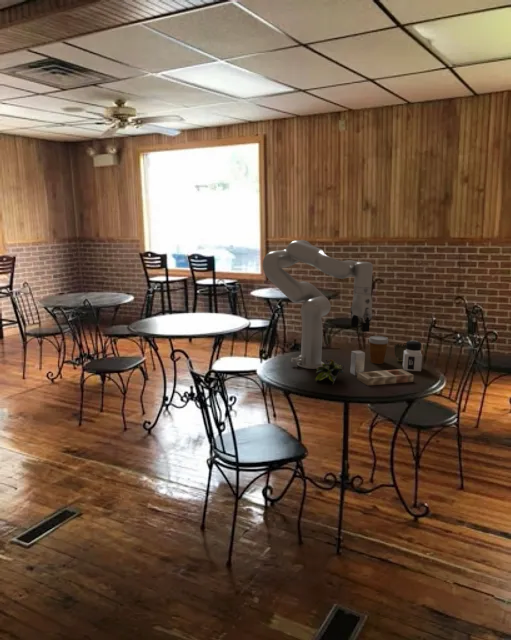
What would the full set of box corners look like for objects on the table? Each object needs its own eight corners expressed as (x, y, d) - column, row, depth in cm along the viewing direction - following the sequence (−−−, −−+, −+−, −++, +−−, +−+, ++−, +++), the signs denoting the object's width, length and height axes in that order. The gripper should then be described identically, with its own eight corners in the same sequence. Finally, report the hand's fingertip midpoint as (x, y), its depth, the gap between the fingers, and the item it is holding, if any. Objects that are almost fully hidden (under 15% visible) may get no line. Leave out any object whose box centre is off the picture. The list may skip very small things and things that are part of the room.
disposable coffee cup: (363, 362, 256) (365, 338, 254) (371, 358, 264) (373, 334, 262) (382, 365, 251) (384, 341, 249) (390, 361, 259) (391, 337, 256)
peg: (354, 375, 235) (356, 353, 233) (350, 372, 239) (351, 351, 237) (363, 374, 236) (365, 352, 234) (358, 371, 240) (360, 350, 238)
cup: (406, 364, 254) (407, 348, 253) (391, 362, 258) (392, 346, 256) (410, 361, 260) (412, 345, 259) (395, 358, 264) (397, 343, 263)
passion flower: (328, 391, 230) (343, 367, 231) (337, 394, 219) (352, 370, 220) (308, 377, 228) (323, 353, 229) (315, 380, 217) (331, 355, 219)
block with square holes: (367, 385, 221) (367, 378, 220) (356, 379, 229) (357, 372, 229) (413, 381, 228) (413, 374, 227) (401, 375, 236) (401, 369, 236)
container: (421, 371, 243) (423, 344, 240) (403, 370, 244) (405, 342, 242) (419, 367, 250) (421, 340, 248) (402, 365, 252) (404, 339, 249)
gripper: (380, 293, 224) (377, 333, 227) (360, 287, 240) (357, 324, 243) (364, 293, 221) (362, 333, 225) (345, 287, 237) (343, 325, 241)
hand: (359, 329), depth 234 cm, fingers open, 9 cm apart
